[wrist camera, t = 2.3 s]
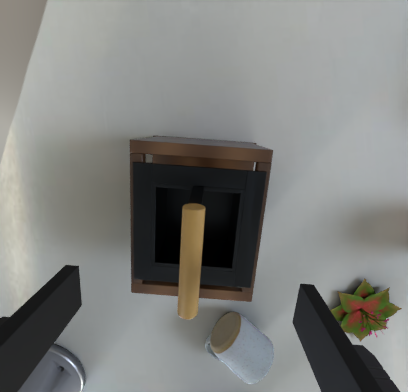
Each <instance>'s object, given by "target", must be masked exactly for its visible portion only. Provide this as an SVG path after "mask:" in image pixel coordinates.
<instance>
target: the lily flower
mask: <svg viewBox="0 0 408 392" xmlns="http://www.w3.org/2000/svg"><path fill="white" fill-rule="evenodd" d="M389 288H390V287H389ZM389 288H388V289H386V290H384V291H381V292H379V293H377V294H375V291H374V289H373V288H372V286H371V285H370V284H369V283H367V282H366V279H364V281H363V282H362V283H361V285H360V286H359V287H358V288H357V290H356V291H355V293H354V294H353V295H351V294H346V293H341V292H338V293H339V297H340V299H341V300H340V301H341V305H339V306H338V307H336V308H334V309H332V310H330V311H331V312H332V314H333V315H334V317H335V319H336V320H337V321H342V324H341V328H342V329H343V331H344V332H346V333H352V332H353V333H354V335H355V336H356V337H357V338H359V340H360V342H361V340H362V339H363V338H364V337H365V336H367V335H368V334H369V336H370V334H371V335H372V332H371V330H374V331H377V330H380V331H381V329H386V328H387V327H386V325H385V324H386V323H387V321H388V320H389V319H387V320H386V318H388V317H391V316H392V315H393V314H395V313H396V312H397V310H400V309H402V308H399V307H397V306H395V305H394V304H392V303H389V293H388V291H389ZM387 329H388V328H387ZM381 332H382V331H381ZM382 333H383V332H382ZM383 334H384V333H383ZM375 335H376V333H375ZM384 335H385V334H384ZM376 337H377V335H376Z"/></svg>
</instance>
